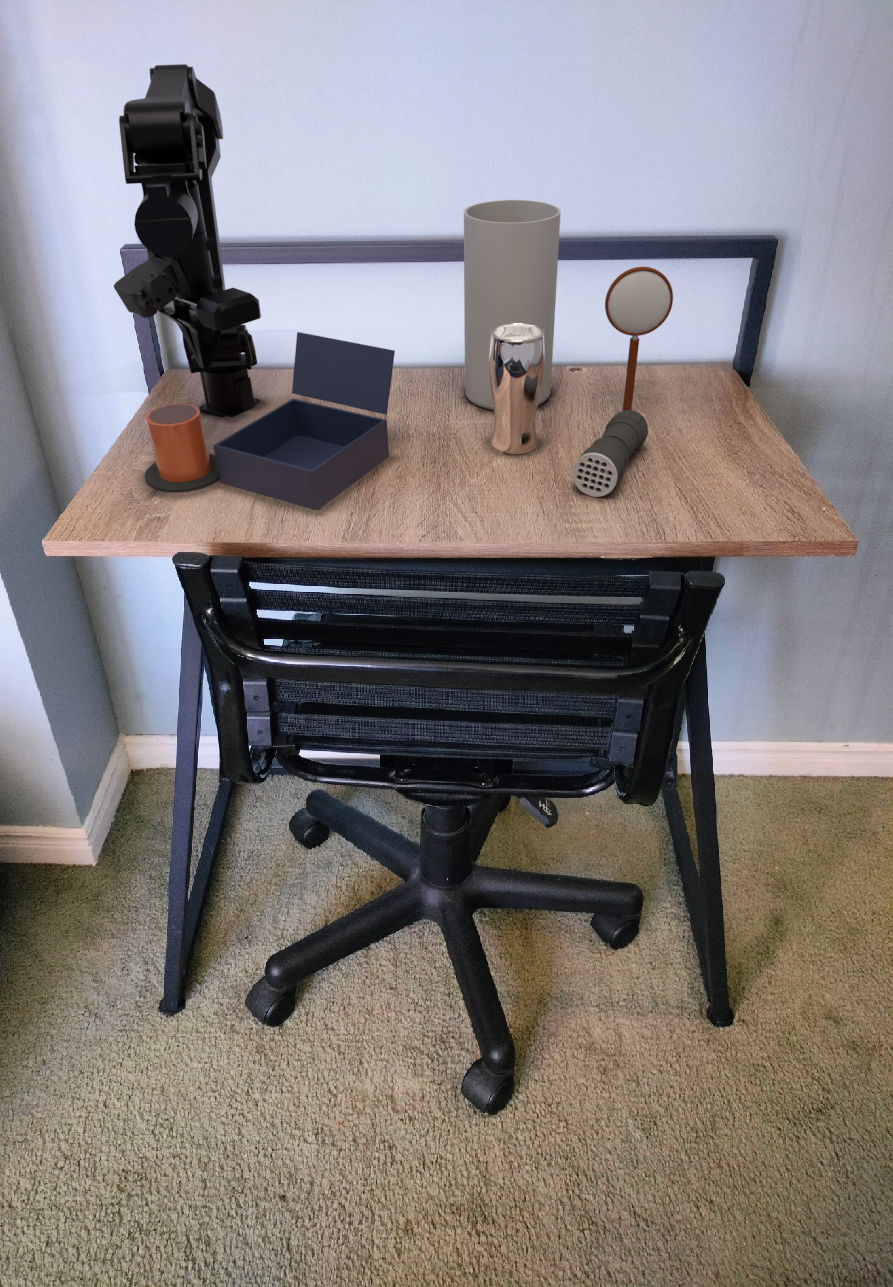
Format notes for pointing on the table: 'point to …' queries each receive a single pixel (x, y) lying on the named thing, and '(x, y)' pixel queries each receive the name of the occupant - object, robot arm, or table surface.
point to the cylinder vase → (507, 282)
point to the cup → (178, 442)
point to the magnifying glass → (637, 312)
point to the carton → (302, 453)
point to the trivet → (177, 487)
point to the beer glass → (516, 384)
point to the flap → (343, 372)
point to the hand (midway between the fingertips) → (205, 367)
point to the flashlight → (610, 454)
